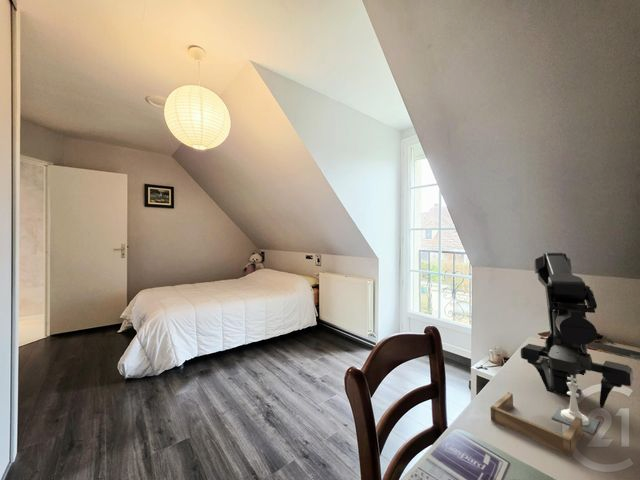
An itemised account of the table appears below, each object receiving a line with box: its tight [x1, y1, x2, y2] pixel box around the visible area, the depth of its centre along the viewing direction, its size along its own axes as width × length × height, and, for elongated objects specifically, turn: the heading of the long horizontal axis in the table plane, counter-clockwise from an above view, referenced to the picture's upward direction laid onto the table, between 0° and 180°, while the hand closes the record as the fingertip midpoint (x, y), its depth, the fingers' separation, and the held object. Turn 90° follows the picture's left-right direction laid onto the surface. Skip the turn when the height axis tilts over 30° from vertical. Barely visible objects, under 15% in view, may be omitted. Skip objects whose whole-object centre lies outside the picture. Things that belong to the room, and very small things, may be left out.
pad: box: [551, 406, 600, 435], centre depth 62 cm, size 7×7×1 cm
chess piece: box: [561, 375, 589, 425], centre depth 62 cm, size 5×5×10 cm
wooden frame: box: [490, 392, 584, 457], centre depth 60 cm, size 11×14×3 cm
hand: (573, 398), depth 62 cm, fingers open, 9 cm apart
